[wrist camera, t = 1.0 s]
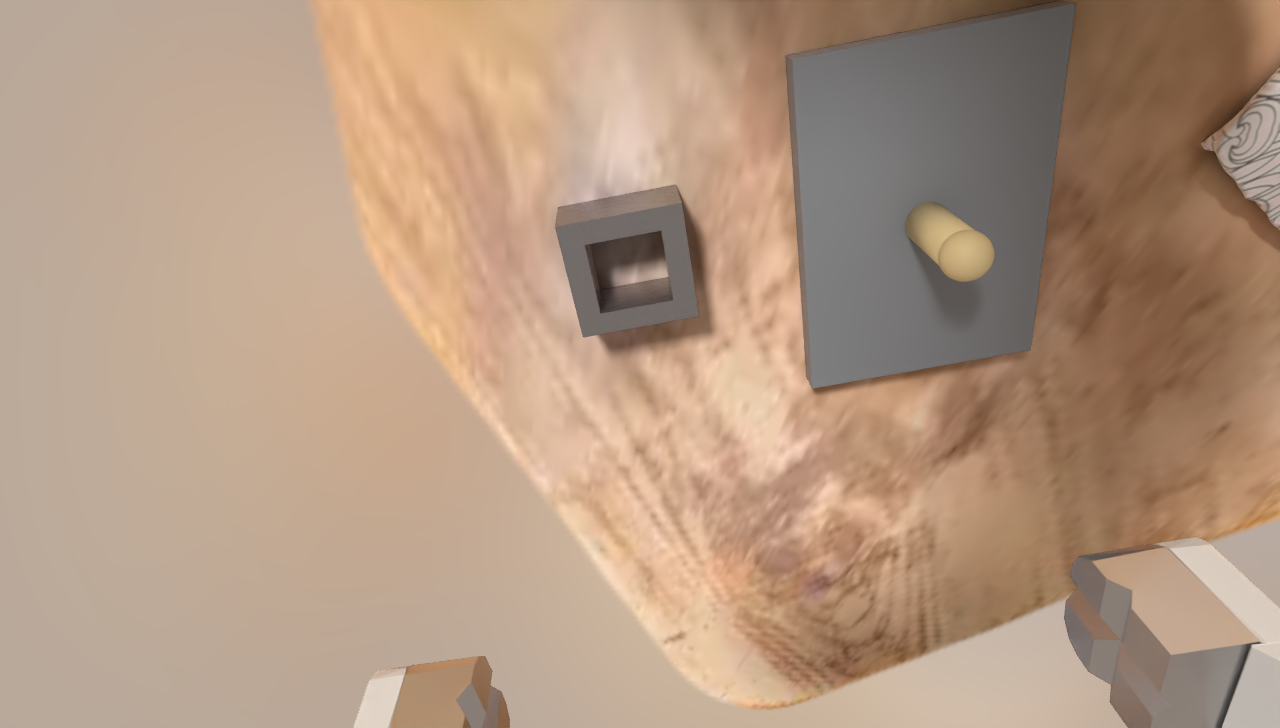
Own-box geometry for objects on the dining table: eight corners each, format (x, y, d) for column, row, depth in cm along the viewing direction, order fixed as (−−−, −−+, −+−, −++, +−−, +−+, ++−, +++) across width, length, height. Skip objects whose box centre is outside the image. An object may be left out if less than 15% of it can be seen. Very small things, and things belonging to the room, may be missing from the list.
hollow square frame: (557, 207, 40) (555, 227, 37) (675, 184, 40) (681, 202, 37) (583, 312, 43) (582, 337, 41) (692, 292, 43) (699, 316, 40)
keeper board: (785, 55, 36) (827, 80, 30) (1058, 1, 36) (1165, 14, 29) (806, 376, 47) (841, 448, 40) (1018, 338, 46) (1090, 405, 39)
